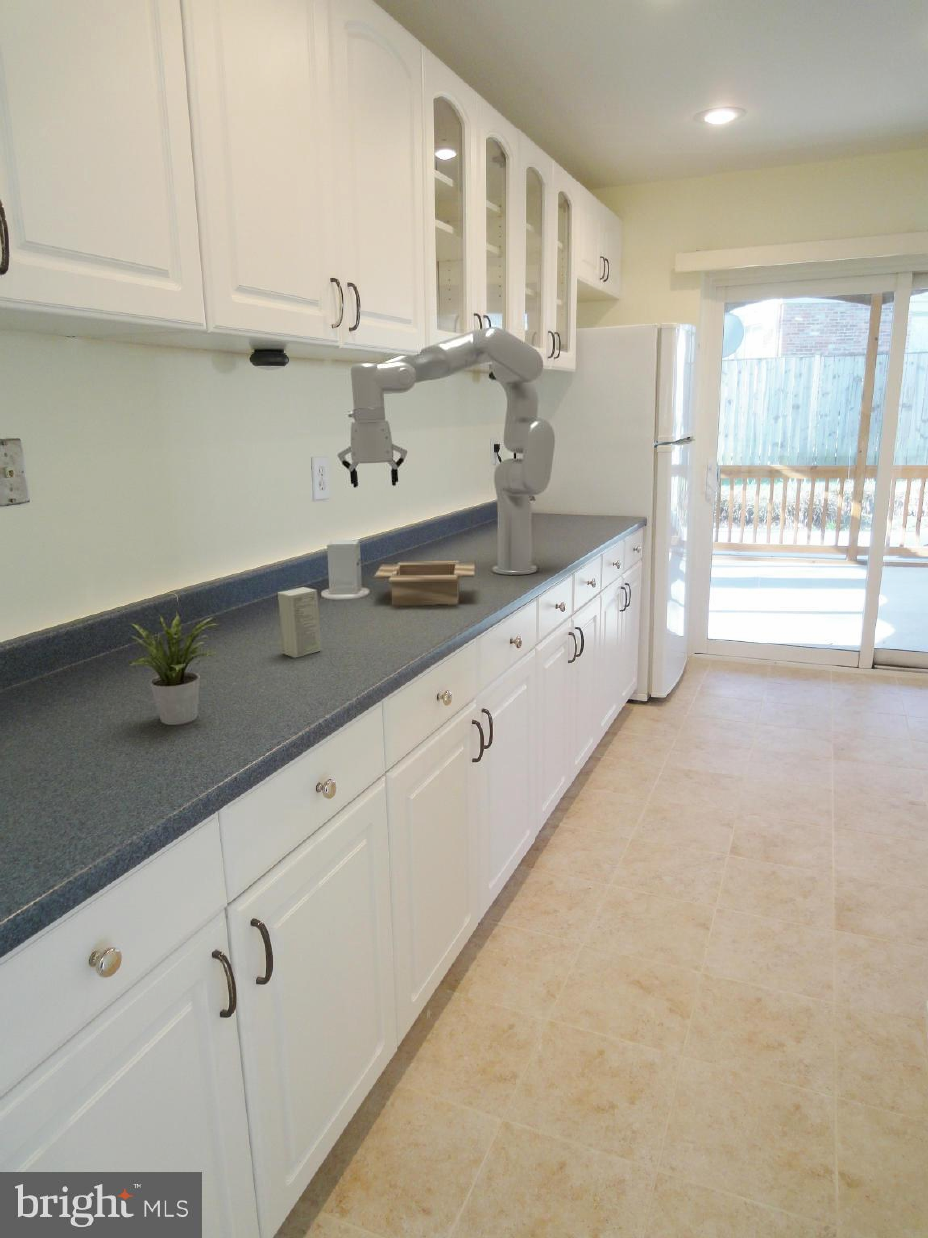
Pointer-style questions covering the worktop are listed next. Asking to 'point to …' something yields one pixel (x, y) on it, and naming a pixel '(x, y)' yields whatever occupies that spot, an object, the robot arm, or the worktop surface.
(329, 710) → the worktop surface
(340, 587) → the supplement box
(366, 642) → the worktop surface
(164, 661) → the house plant
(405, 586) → the carton
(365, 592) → the plate
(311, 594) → the skincare box
